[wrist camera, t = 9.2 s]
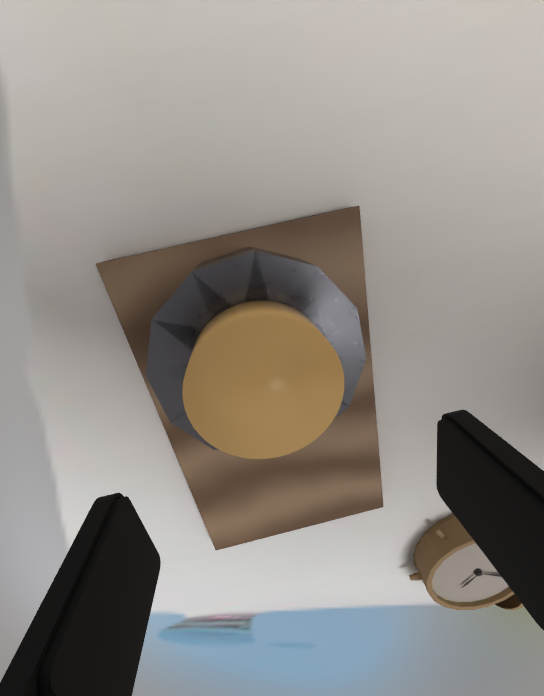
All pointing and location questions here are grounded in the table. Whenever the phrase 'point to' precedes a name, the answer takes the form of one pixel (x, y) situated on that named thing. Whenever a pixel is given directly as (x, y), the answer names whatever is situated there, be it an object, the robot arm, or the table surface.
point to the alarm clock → (459, 570)
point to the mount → (292, 469)
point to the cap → (262, 381)
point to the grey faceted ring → (238, 287)
